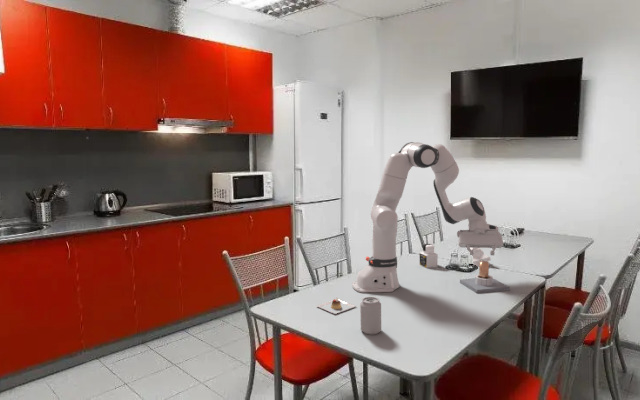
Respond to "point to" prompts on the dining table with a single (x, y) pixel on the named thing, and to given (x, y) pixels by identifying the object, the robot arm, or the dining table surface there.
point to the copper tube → (484, 269)
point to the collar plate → (483, 288)
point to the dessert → (336, 305)
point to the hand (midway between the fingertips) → (482, 254)
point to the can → (370, 315)
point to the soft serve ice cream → (479, 256)
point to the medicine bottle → (428, 256)
